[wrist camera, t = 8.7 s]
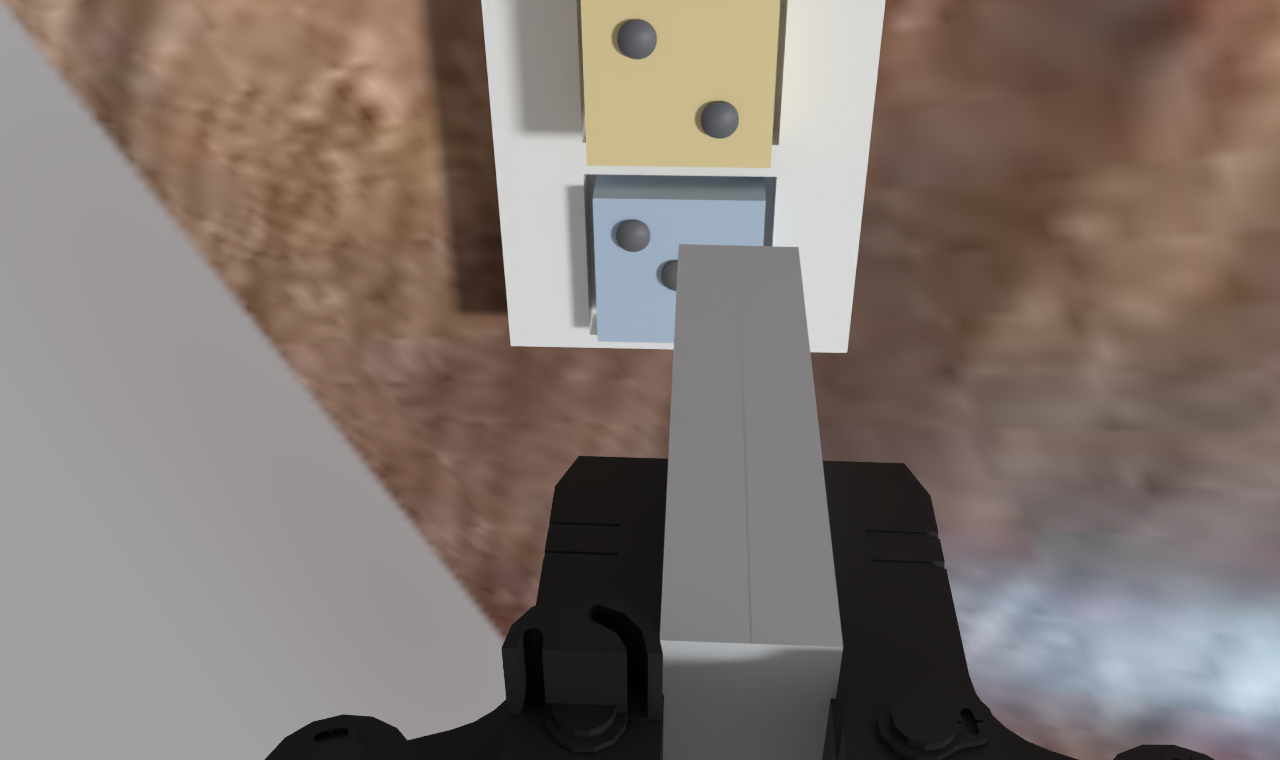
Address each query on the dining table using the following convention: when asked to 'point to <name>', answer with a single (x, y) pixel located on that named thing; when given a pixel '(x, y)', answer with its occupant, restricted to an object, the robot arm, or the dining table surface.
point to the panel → (564, 185)
